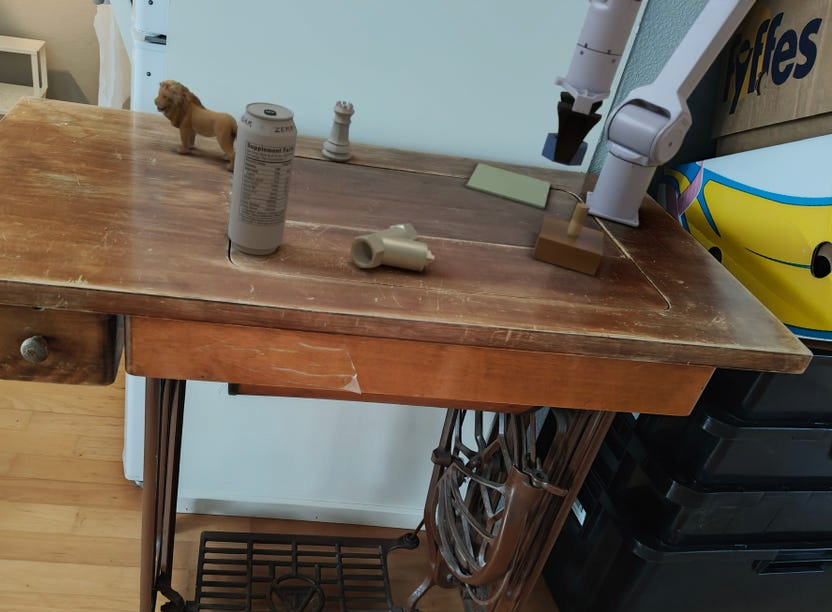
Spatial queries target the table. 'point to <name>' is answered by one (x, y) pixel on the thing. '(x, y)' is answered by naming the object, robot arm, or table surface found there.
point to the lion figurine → (196, 119)
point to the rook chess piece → (339, 133)
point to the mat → (509, 185)
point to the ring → (550, 148)
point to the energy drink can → (262, 177)
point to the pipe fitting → (392, 249)
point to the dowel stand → (570, 242)
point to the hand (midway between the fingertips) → (562, 155)
